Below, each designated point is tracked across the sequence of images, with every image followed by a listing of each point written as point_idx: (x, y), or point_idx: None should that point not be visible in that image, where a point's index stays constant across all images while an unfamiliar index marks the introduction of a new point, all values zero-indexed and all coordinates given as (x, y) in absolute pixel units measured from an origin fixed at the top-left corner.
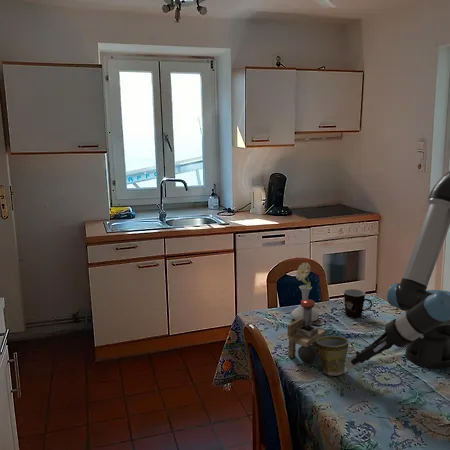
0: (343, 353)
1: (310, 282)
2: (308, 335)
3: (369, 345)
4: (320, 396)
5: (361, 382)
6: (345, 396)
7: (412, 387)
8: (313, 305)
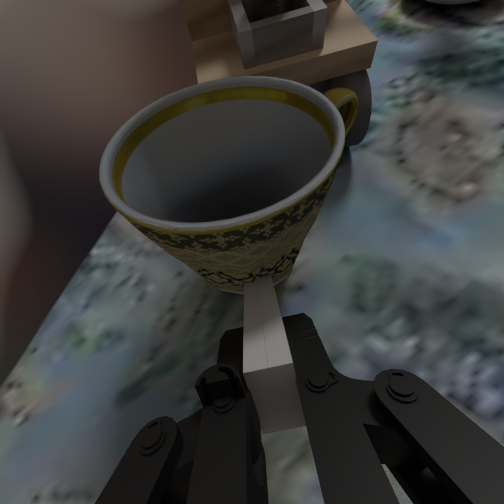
0: (213, 263)
1: None
2: (241, 49)
3: (454, 450)
4: (71, 342)
5: None
6: (124, 418)
7: None
8: None
